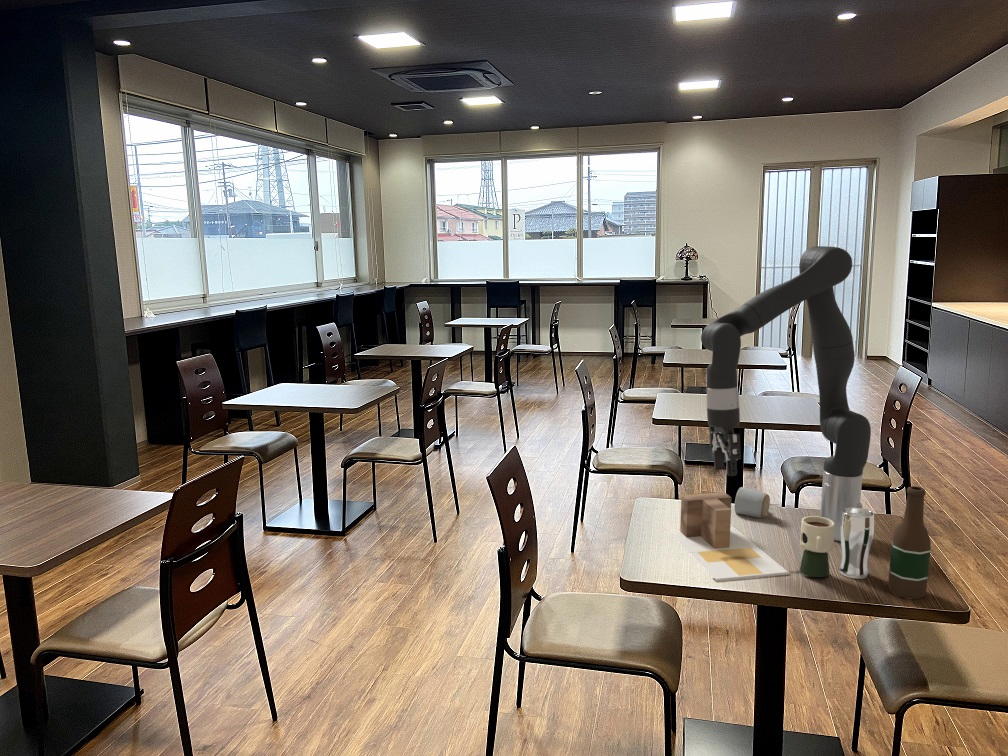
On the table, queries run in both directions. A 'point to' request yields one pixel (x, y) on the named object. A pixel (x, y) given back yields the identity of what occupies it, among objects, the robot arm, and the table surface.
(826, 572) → the character mug
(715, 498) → the t block
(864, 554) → the beer glass
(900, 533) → the beer bottle
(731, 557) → the board
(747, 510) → the grey cylinder
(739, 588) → the table surface
